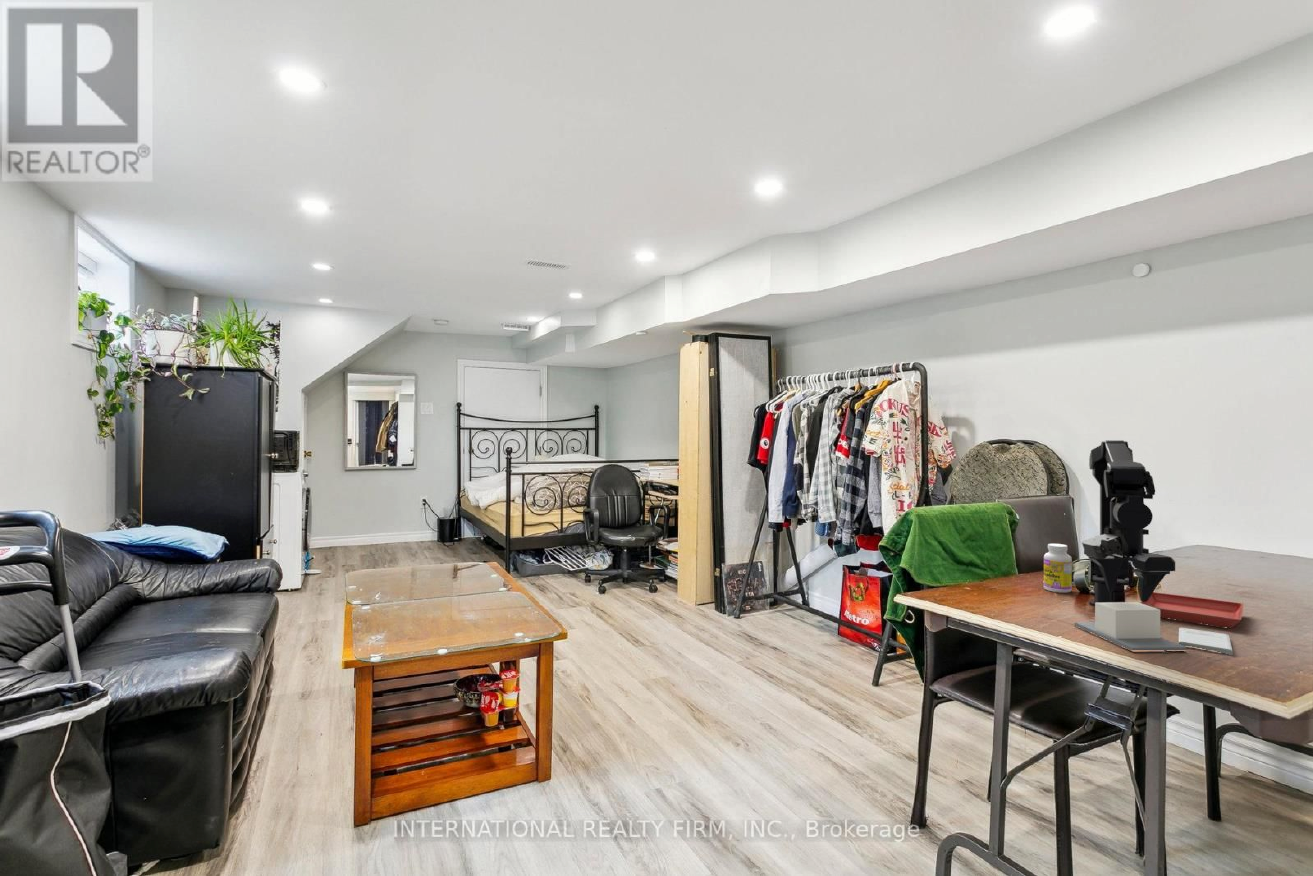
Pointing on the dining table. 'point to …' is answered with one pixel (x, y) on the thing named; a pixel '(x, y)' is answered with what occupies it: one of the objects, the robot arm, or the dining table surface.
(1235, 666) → the dining table surface
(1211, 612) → the plant saucer
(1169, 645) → the base plate
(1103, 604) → the block
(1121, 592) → the robot arm
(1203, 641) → the external hard drive
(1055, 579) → the supplement bottle
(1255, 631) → the dining table surface
